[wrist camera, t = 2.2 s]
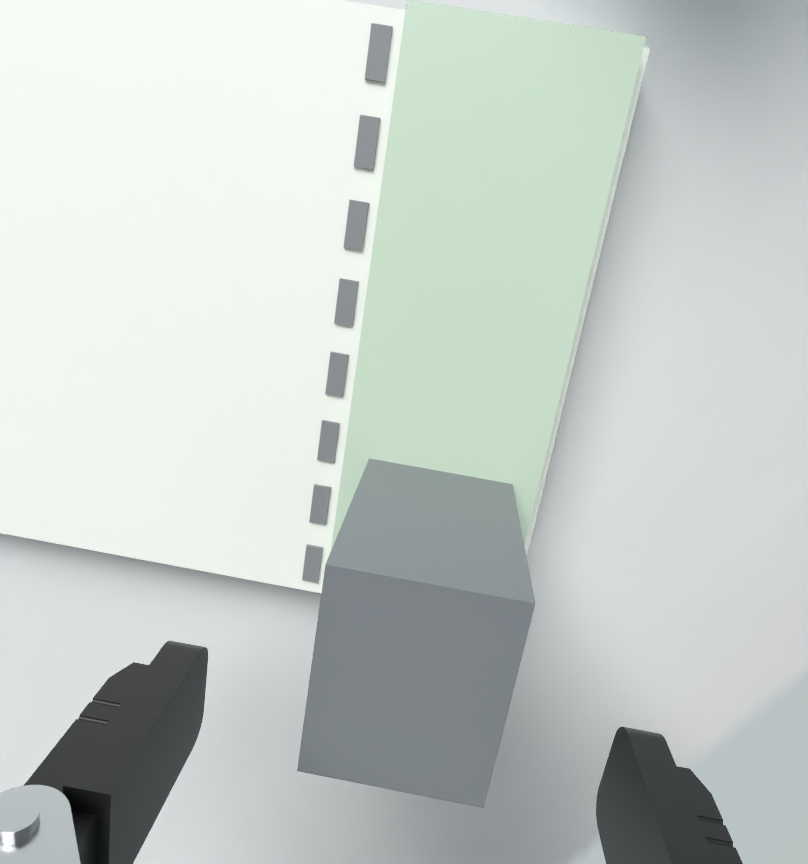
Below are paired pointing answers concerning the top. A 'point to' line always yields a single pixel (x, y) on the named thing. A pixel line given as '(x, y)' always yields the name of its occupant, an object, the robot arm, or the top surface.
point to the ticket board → (192, 272)
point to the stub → (459, 389)
